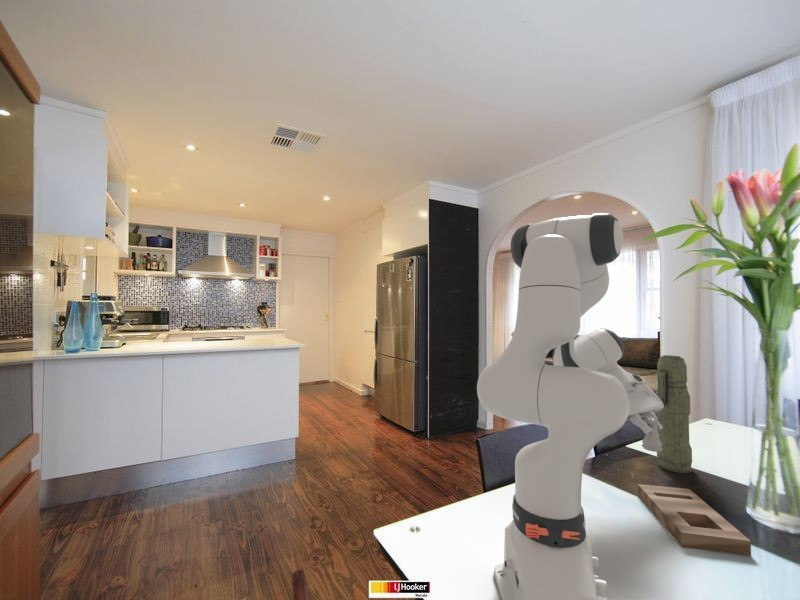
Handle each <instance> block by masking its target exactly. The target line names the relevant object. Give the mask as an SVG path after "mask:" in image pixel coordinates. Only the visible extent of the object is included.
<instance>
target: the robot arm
mask: <svg viewBox="0 0 800 600" xmlns="http://www.w3.org/2000/svg"><path fill="white" fill-rule="evenodd" d="M623 231H624V230H623V229H622V226H621V224H620V223H619V220H618V218H617V217H616V216H614V215H613V214H611V213H603V212H599V213H598V212H597V213H596V212H595V213H593V214H592V215H590V214H589V215H585V214H584V215H576V216H567V217H556V218H552V219H547V220H543V221H539V222H537V223H527V224H524V225H522V226H520V227H518V228H517V229H516V231H514V233H513V235H512V237H511V239H510V240H511V241H510V254H511V257H512V260H513V262H514V263H515V265H516V266H518V268H520V271H519V272H520V273H519V278H518V279H519V281H518V293H517V294H518V296H517V299H518V300H517V310H516V311H517V313H516V318H515V319H516V320H515V325H514V330H513V335H512V337H511V338H510V341H509V343H508V345H507V347H506V348H505V349H504V351H503V352H502V353H501V354H500V355H499V356H498V357H497V358H496V359H494V361H493V362H491V363H489V364H487V365H486V366H485V367H484V368H483V370H482V371H481V373H480V375H479V376H478V379H477V383H476V393H477V397H478V401H479V402H480V404H481V407H482V408H483V410H484V411H486V412H488V413H490V414H493V415H495V416H498V417H500V418H503V419H506V420H508V421H514V422H520V423H525V424H530V425H531V424H532V425H535V426H542V427H545V428H547V431H548V436H547V438H545V439H542V440H539V441H535V442H532V443H529V444H527V445H525V446H523V447H522V448H520V450H519V451H518V453H517V454H516V456H515V460H514V479H515V481H514V482H515V483H514V485H515V486H514V490H515V491H514V492H515V493H514V495H513V497H512V504H511V505H512V506H511V510H512V518H513V519H512V521H511V522H510V523H509V524H508V525H506V527H505V528H504V545H503V547H504V550H503V554H504V555H503V556H504V557H503V563H499V564H498V565H496V566H494V569H493V576H494V579H495V583H496V585H497V589H498V592H499V595H500V597H501V600H609V598H608V597H609V596H608V585H607V581H606V580H604V579H602V578H600V577H599V575H597V574H595V572H594V567H595V568H599V567H600V564H599V563H600V562H599V558H598V556H593V555H592V538H591V537H589V536H588V534H587V532H586V518H585V517H586V516H585V511H584V508H583V506H582V481H583V471H584V466H585V462H586V460H587V458H588V456H589V454H590V453H591V450H593V449H594V447H595V446H596V445H597V444H598V443H599V442H601V441H602V440H604V438H607V437H608V436H610V435H613V434H615V433H616V432H618V431H619V430H620V429H621V428H622V427H623V426H624V425H625V423H626V421H631V423H632V424H633V425H635V426H636V427H638V428H640V429H641V431H642V432H643V433H644V434H645V435H646V434H648V433H651V432H652V431H653V428H652V427H651V426H650V424H646V422H645V421H644V419H646V416H650V418H651V416H652V417H654V419H655V417H656V418H658V416H657V415H656V414H658V412H659V411H660V410H662V409H663V408H664V405H663V402H662V401H661V400H660V399H659V397H658V396H657V395H656V392H654V390H653V389H652V388H651V387H650V386H648V385H647V384H645V382H646V381H645V378H643V377H642V376H641V375H638V374H637V375H636V374H633V373H631V372H629V371H626V370H625V369H624V368H623V367H622V366H620V365H619V364H618V361H619V360H621V359H622V357H623V356H624V353H625V343H624V342H623V340H622V339H621V338H620V337H619V336H618V334H616V333H615V332H614V331H612V330H610V329H607V328H599V329H596V330H594V331H591V332H589V333H587V334H582V335H579V336H578V334H579V332H580V330H581V318H582V317H583V316H584V315H585V314H586V313H587V312H588V311H589V310H591V309H592V308H593V307H594V306H595V305H597V304H598V303H600V301H601V300H602V299H603V298H604V297H605V295H606V294H607V292H608V289H609V286H610V285H609V284H610V275H609V268H608V264H611V263H612V262H614V261H615V260H616V259H617V258H618V257H619V256H620V254H621V251H622V248H623V245H624V232H623ZM551 350H552V357H551V358H552V363H553V365H551V364H547V363H545V362H546V359H547V356H548V354H549V352H551ZM643 417H644V419H642V418H643ZM657 427H658V431H659V430H661V429H662V428H663V427H662V426H661V424H660V423H659V424H658V425H657Z"/></svg>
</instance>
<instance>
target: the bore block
mask: <svg viewBox="0 0 800 600" xmlns="http://www.w3.org/2000/svg"><path fill="white" fill-rule="evenodd" d="M637 497H638V498H639V499H640V500H641V501H642V502H643V503H644V504H645V506H646V507H647V508H648V510H650V512H651V513H652V514H653V515H654V516H655V517H656V518H657V520H659V522H660V523H661V524H662V526H663V527H664V528H665V529H666V530H667V531H668V533H669V534H670V535H671V536H672V537H673V538H674V539H675V541H676V542H677V543H678V544H679V545H680V546H681V548H685V549H692V550H701V551H707V552H708V551H709V552H716V553H724V554H733V555H740V556H747V557H751V556H752V546H751V544H752V541H751V539H749V538H748V537H747V536H745V535H744V534H743V533H742V532H741V531H740V530H738V529H737V528H736V527H735V526H734V525H733V524H732V523H730V522H729V521H728V520H726V519H725V518H724V517H723V516H722V515H721V514H720V513H719V512H717V511H716V510H715V509H713V507H711V506H710V505H709V504H708V503H707V502H705V501H704V500H703V498H701V497H700V496H698V495H697V494H696V493H695V492H694V491H692V490H691V489H690V488H680V487H671V486H661V485H650V484H640V483H637Z"/></svg>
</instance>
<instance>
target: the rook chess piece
mask: <svg viewBox="0 0 800 600" xmlns="http://www.w3.org/2000/svg"><path fill="white" fill-rule="evenodd" d="M656 417H657V416H656ZM656 417H655V419H654V417H652V416H651V418H650V416H646V418H644V419H643V421H644V422H645V423H646V424H650V426H651V427H652V428H653V431H652V432H651V433H648V434H645V436H644V437H643V439H642V441H641V443H642V445H641V446H642V448H643V450H647V451H649V452H655V453H657V452H660V451H662V450H663V448H662V443H661V442H660V440H659V437H658V427H657V425H658V424H659V421H658V417H657V418H656Z"/></svg>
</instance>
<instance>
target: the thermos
mask: <svg viewBox="0 0 800 600" xmlns="http://www.w3.org/2000/svg"><path fill="white" fill-rule="evenodd" d="M656 366H657V368H656V369H657V370H656V372H657V377H656V378H657V381H658V383H657V389H656V391H655V394H656V395H657V396H658V397H659V399H660V400H661V401H662V402H663V405H664V408H663V409H662V410H660V411H659V412H657V418H658V421H659V423H660V424H661V426H662V427H663V428H662V429H661V430H659V431H658V437H659V440H660V442H661V443H662V448H663V450H662V451H660V452H656V457H657V465H658V466H659V467H660V468H662V469H664V470H666V471H670V472H673V473H680V474H689V473H691V472H692V471H693V469H692V463H693V452H692V451H693V448H692V446H691V444H690V418H689V417H690V415H691V396H690V393H689V391H688V386H687V383H688V368H687V367H688V366H687V364H686V362H685V359H684V357H681V356H679V355H668V354H665V355H664V354H663V355H662V356H659V358H658V362H657V365H656Z"/></svg>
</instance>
